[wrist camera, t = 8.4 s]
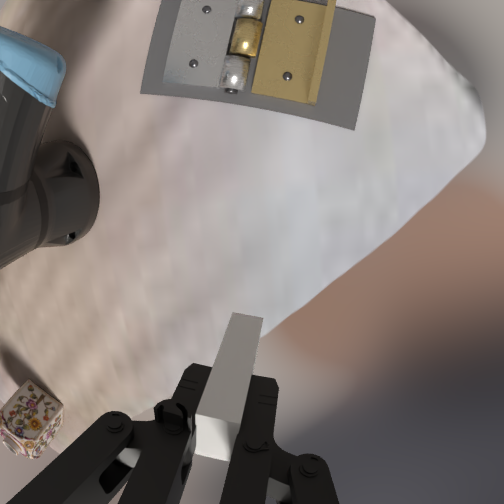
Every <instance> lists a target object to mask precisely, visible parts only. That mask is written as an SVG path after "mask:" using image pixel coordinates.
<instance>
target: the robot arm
mask: <svg viewBox="0 0 504 504" xmlns="http://www.w3.org/2000/svg"><path fill="white" fill-rule="evenodd" d="M65 73H66V62H65V60H64V58H63V57H62V55H61V54H59V53H58V52H57V51H55V50H53V49H51V48H50V47H48V46H46V45H44V44H42V43H40V42H38V41H36V40H33V39H31V38H29V37H27V36H24V35H22V34H20V33H17V32H15V31H12V30H9V29H7V28H4V27H1V26H0V269H2V268H3V267H5V266H7V265H8V264H10V263H12V262H13V261H15V260H17V259H18V258H20V257H22V256H23V255H25V254H27V253H29V252H30V251H32V250H34V249H36V248H39V247H56V246H65V245H69V244H71V243H73V242H75V241H77V240H79V239H80V238H82V237H83V236H85V235H86V234H87V233H88V232H89V230H90V229H91V227H92V226H93V224H94V222H95V219H96V216H97V213H98V207H99V187H98V181H97V177H96V174H95V171H94V168H93V166H92V164H91V162H90V160H89V159H88V157H87V156H86V154H85V153H84V152H83V151H82V150H81V149H80V148H79V147H77V146H76V145H74V144H73V143H70V142H68V141H61V140H59V141H51V142H46V143H43V144H41V145H40V143H41V140H42V137H43V134H44V131H45V128H46V125H47V122H48V120H49V117H50V115H51V112H52V110H53V108H55V106H56V103H57V102H56V98H57V95H58V93H59V90H60V87H61V84H62V81H63V79H64V76H65ZM262 322H263V318H261V317H255V316H250V315H245V314H239V313H234V312H233V313H232V316H231V319H230V321H229V324H228V327H227V329H226V332H225V335H224V338H223V340H222V343H221V346H220V349H219V351H218V354H217V357H216V359H215V362H214V365H213V367H208V366H204V365H200V364H195V363H193V364H191V365H190V366H189V367H188V368H186V369H185V371H184V373H183V375H182V377H181V380H180V381H179V383H178V386H177V388H176V390H175V392H174V394H173V397H172V399H168V400H163V401H161V402H159V403H157V405H156V406H155V407H154V413H155V420H152V421H131V418H130V417H129V416H127V415H126V414H125V413H122V412H119V411H111V412H107V413H105V414H103V415H102V416H101V417H100V418H98V419H97V420H96V421H95V422H94V423H93V424H92V425H91V426H90V427H89V428H88V429H87V430H86V431H85V432H84V433H82V434H81V435H80V436H79V437H78V438H77V439H76V440H75V441H74V442H73V443H72V444H71V445H70V446H68V447H67V448H66V449H65V450H64V451H63V452H62V453H61V454H60V455H59V456H58V457H57V458H56V459H55V460H53V461H52V462H51V463H50V464H49V465H48V466H47V467H46V468H45V469H44V470H43V471H42V472H40V473H39V475H37V476H36V477H35V478H34V479H33V480H32V481H31V482H30V483H28V484H27V485H26V486H25V487H24V488H23V489H22V490H21V491H20V492H18V493H17V494H16V495H15V496H14V497H13V498H12V499H11V500H10V501H8V502H7V503H6V504H108V503H109V502H110V501H111V500H112V498H113V497H114V496H115V495H116V494H117V493H118V492H119V491H120V489H121V488H122V487H123V486H124V485H125V483H126V482H127V481H128V482H127V484H126V487H125V489H124V491H123V493H122V495H121V497H120V500H119V502H118V504H179V503H180V500H181V497H182V494H183V491H184V488H185V485H186V481H187V479H188V476H189V473H190V470H191V466H192V457H193V454H194V451H195V454H198V455H203V456H207V457H211V458H216V459H221V460H225V461H230V464H229V468H228V472H227V476H226V480H225V484H224V488H223V492H222V496H221V500H220V504H265V500H266V496H269V497H271V498H273V499H276V502H277V504H339V501H338V498H337V495H336V491H335V488H334V484H333V481H332V478H331V474H330V471H329V468H328V465H327V464H326V462H325V460H323V459H322V458H320V456H317V455H314V454H302V455H299V456H295V455H292V454H290V453H288V452H286V451H284V450H282V449H281V448H280V447H279V446H278V445H277V444H276V443H275V440H274V438H273V432H274V424H275V415H276V408H277V399H278V391H279V387H278V385H277V382H276V380H275V379H274V378H268V377H262V376H256V375H253V370H254V365H255V361H256V355H257V350H258V344H259V339H260V333H261V328H262Z"/></svg>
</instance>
